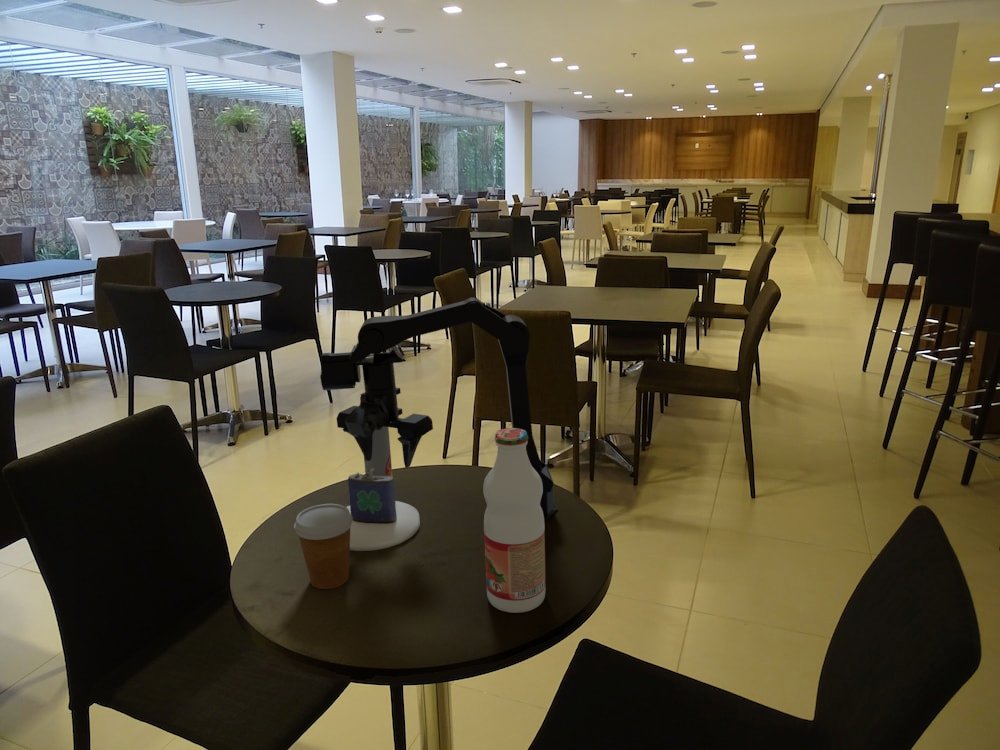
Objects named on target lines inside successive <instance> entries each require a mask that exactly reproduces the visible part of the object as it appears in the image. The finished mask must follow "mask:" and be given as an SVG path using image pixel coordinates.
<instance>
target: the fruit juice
mask: <svg viewBox="0 0 1000 750" xmlns="http://www.w3.org/2000/svg"><path fill="white" fill-rule="evenodd" d="M494 441H495V445H496V446H497V453H496V458H495V461H494V464H493V467H492V468H491V469H490V470H489V472H488V473H487V474H486V477H485V478H484V481H483V485H482V486H483V487H482V489H483V496H484V500H485V503H486V508H485V511H484V517H483V535H484V558H485V561H484V562H485V576H486V577H485V578H486V579H485V580H486V581H485V582H486V595H487V599H488V602H489V603H490V605H492V606H493V607H494V608H495V609H497V610H499V611H502V612H505V613H510V614H511V613H512V614H513V613H514V614H515V613H516V614H520V613H526V612H529V611H533V610H535V609H536V608H538V607H540V605H541V604H542V603H543V602H544V600H545V598H546V591H547V589H546V550H545V549H546V545H545V544H546V543H545V541H546V539H545V533H546V531H545V521H544V515H543V511H542V508H541V506H540V501H541V497H542V493H543V485H542V480H541V478H540V476H539V474H538V473H537V472H536V470H535V469H534V468H533V467H532V465H531V463H530V461H529V458H528V455H527V452H526V445H527V443H528V434H527V432H526V431H525V430H523V429H519V428H512V427H508V428H501V429H499V430H497V431H496V432H495V435H494Z"/></svg>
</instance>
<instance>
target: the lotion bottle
mask: <svg viewBox="0 0 1000 750" xmlns="http://www.w3.org/2000/svg"><path fill="white" fill-rule="evenodd" d="M389 429H390V427H385V426H383V427H382V428H381V429H380V430H374V432H373V441H372V459H371V460H370V461H367V460H366V459H365V457H364V456H363V458H364V460H363V461H364V462H363V463H364V473H365V474H366V472H365V470H366V469H370V468H372V469H374V471H373V476H391V477H392V478H393V467H392V456H391V455H392V454H391V442H390V431H389ZM370 470H371V469H370Z"/></svg>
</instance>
